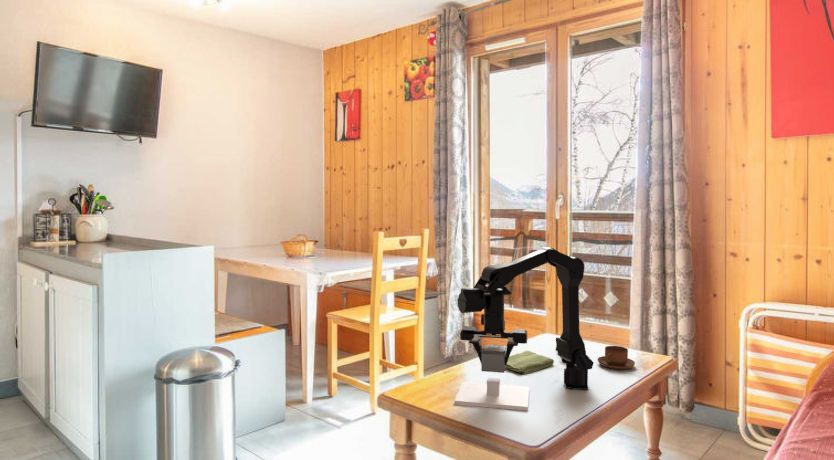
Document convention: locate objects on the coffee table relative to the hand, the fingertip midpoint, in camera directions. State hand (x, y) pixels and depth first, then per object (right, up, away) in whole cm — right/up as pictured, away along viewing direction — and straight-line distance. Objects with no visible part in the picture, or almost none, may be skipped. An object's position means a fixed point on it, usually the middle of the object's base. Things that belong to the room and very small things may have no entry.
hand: (493, 364), depth 155 cm
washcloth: (+15, -9, +30) cm, 35 cm away
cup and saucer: (+46, -8, +29) cm, 55 cm away
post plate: (0, -10, 0) cm, 10 cm away
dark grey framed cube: (0, -1, 0) cm, 1 cm away
